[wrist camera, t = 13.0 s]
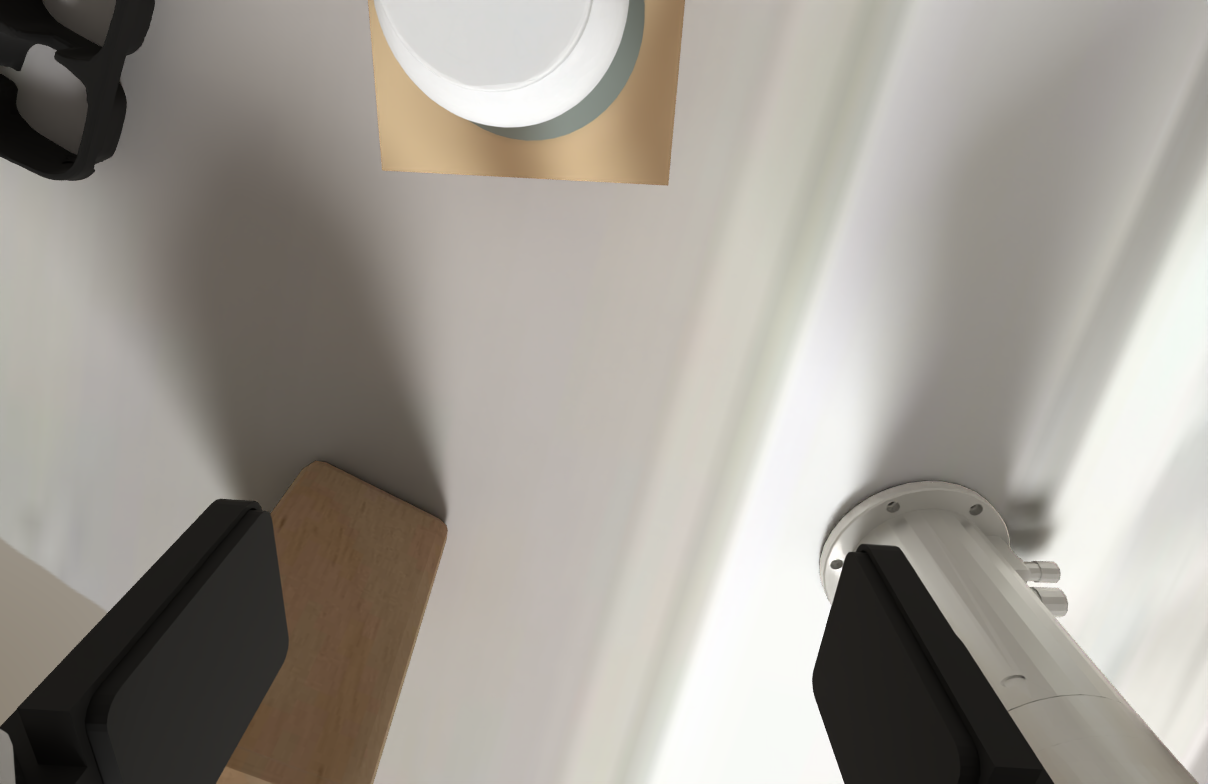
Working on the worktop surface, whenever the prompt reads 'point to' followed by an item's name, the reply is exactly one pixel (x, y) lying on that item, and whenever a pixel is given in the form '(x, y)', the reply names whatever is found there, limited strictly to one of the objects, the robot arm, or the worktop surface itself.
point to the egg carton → (20, 20)
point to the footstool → (558, 146)
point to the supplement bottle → (504, 53)
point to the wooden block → (340, 629)
